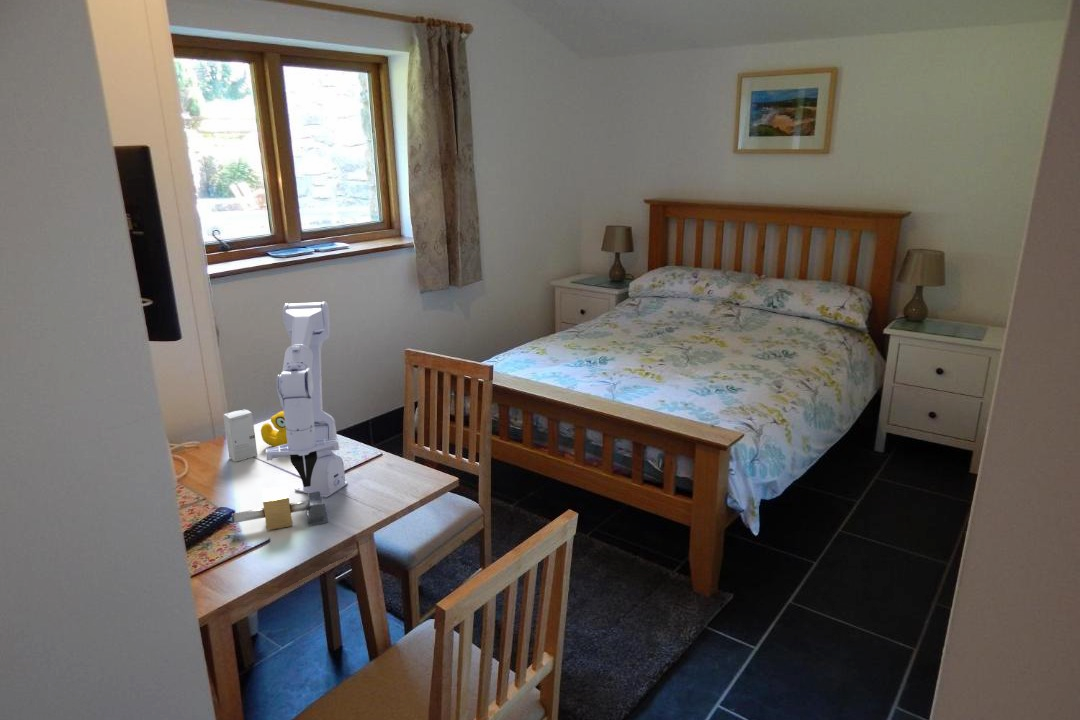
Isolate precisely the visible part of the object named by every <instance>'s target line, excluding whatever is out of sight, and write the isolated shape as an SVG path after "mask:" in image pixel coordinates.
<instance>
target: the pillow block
mask: <svg viewBox="0 0 1080 720" xmlns="http://www.w3.org/2000/svg"><path fill="white" fill-rule="evenodd" d="M307 494H308V500H309V501H310V510H306V515H307V517H306V518H307V523H308V527H313V526H320V525H323V524H329V520H328V518H329V517H328V514H327V509H326V504H325V503H323V500H322V501H321V499H322V497H321V496H320V491H319V492H313V493H307ZM322 506H323V507H322Z"/></svg>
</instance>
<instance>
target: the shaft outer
mask: <svg viewBox="0 0 1080 720" xmlns="http://www.w3.org/2000/svg"><path fill="white" fill-rule="evenodd" d="M264 518H265V512H264V507H263V508H258V509H257V508H256V509H252V510H246V511H241V512H240V511H239V512H234V513H233V512H232V513H231V523H232V524H237V523H242V522H248V521H253V520H254V521H255V520H259V519H264Z"/></svg>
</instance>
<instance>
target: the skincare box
mask: <svg viewBox="0 0 1080 720" xmlns="http://www.w3.org/2000/svg"><path fill="white" fill-rule="evenodd" d="M222 415H223V416H222V417H223V422H224V430H225V436H226V437H225V438H226V444H227V445H226V446H227V451H228V452H227V453H228V458H230V459H231V460H232V461H233V463H237V462H240V461H243V460H248V459H251V458H254V457H253V456H255V457H257V456H258V449H257V442H256V433H255V425H254V417H253V412H251V411H250V410H249V409H246V408H244V409H241V410H240V409H239V410H234V411H231V412H226V413H223V414H222ZM256 455H257V456H256ZM247 458H248V459H247Z"/></svg>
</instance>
